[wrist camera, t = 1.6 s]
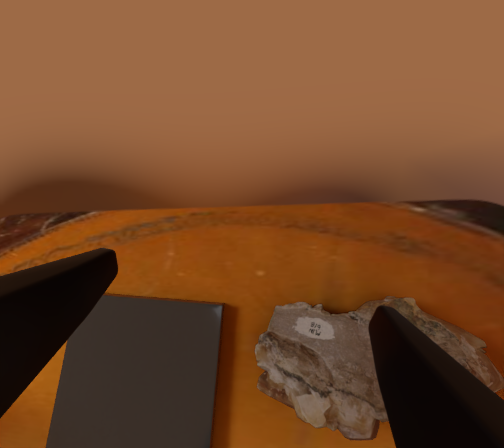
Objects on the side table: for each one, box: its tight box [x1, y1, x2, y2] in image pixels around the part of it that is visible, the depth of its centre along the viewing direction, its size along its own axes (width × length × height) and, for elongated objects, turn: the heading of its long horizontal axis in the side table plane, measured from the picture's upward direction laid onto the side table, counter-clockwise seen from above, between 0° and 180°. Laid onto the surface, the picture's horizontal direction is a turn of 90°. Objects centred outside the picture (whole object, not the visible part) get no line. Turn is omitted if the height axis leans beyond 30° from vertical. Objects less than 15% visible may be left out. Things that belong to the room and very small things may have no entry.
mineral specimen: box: [255, 296, 504, 440], centre depth 18 cm, size 13×7×15 cm
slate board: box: [46, 293, 225, 448], centre depth 20 cm, size 18×14×1 cm
